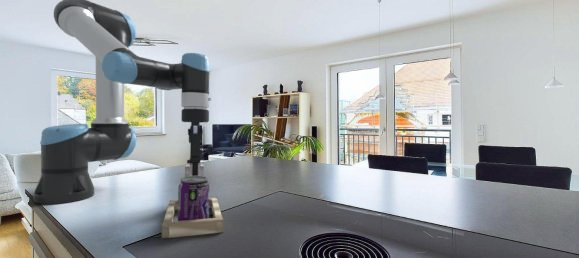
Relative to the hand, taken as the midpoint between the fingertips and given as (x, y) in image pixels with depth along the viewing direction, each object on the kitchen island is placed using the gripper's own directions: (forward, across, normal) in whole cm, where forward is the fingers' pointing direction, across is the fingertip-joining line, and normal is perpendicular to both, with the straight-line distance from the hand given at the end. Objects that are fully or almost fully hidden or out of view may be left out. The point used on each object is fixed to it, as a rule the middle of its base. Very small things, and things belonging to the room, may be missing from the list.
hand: (194, 182), depth 80 cm
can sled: (+8, -9, 0) cm, 12 cm away
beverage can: (+8, -14, 0) cm, 16 cm away
